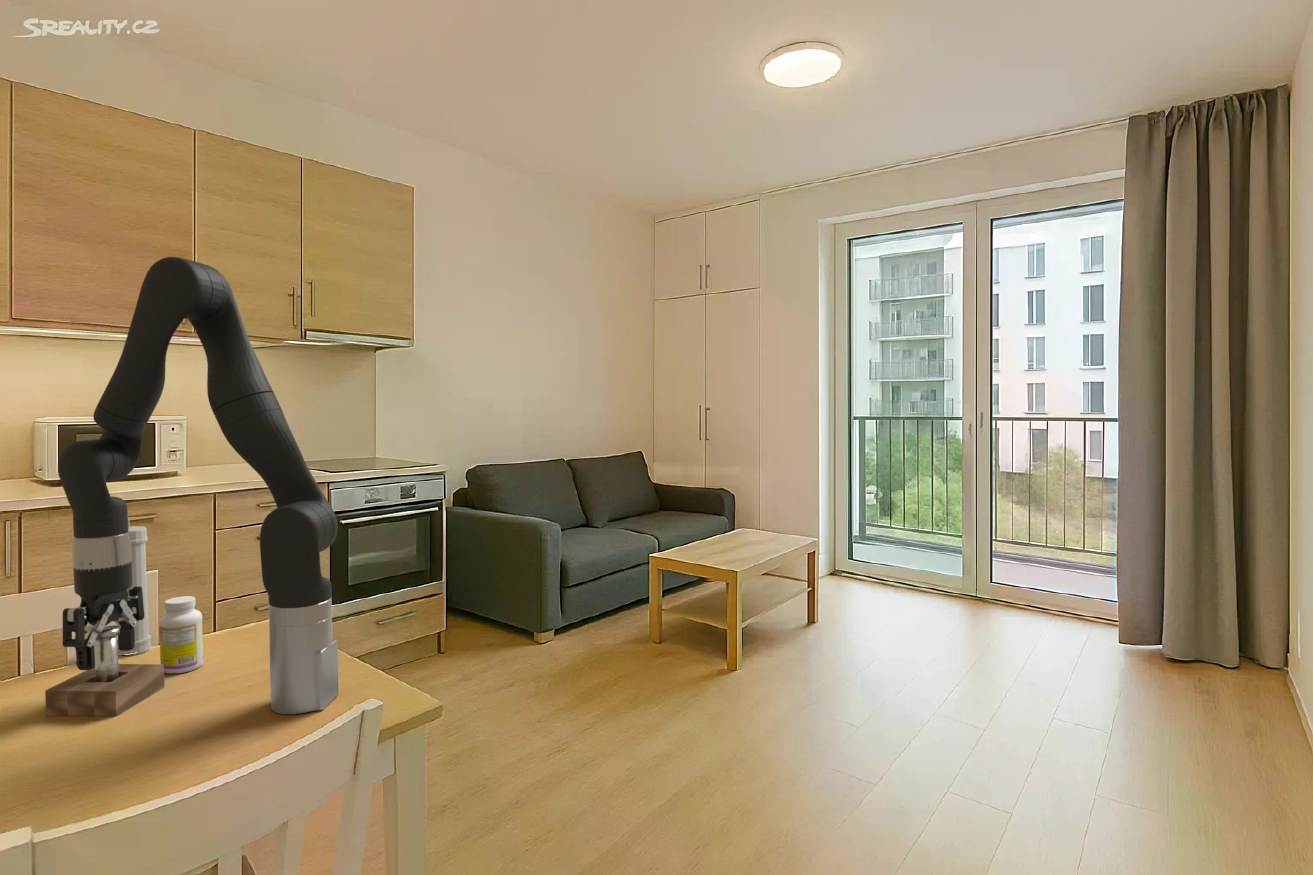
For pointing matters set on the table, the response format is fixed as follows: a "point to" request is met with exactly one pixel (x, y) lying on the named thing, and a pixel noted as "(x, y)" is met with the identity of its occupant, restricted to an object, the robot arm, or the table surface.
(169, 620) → the supplement bottle
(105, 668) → the pin
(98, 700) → the socket block
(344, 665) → the table surface
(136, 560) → the pipe
